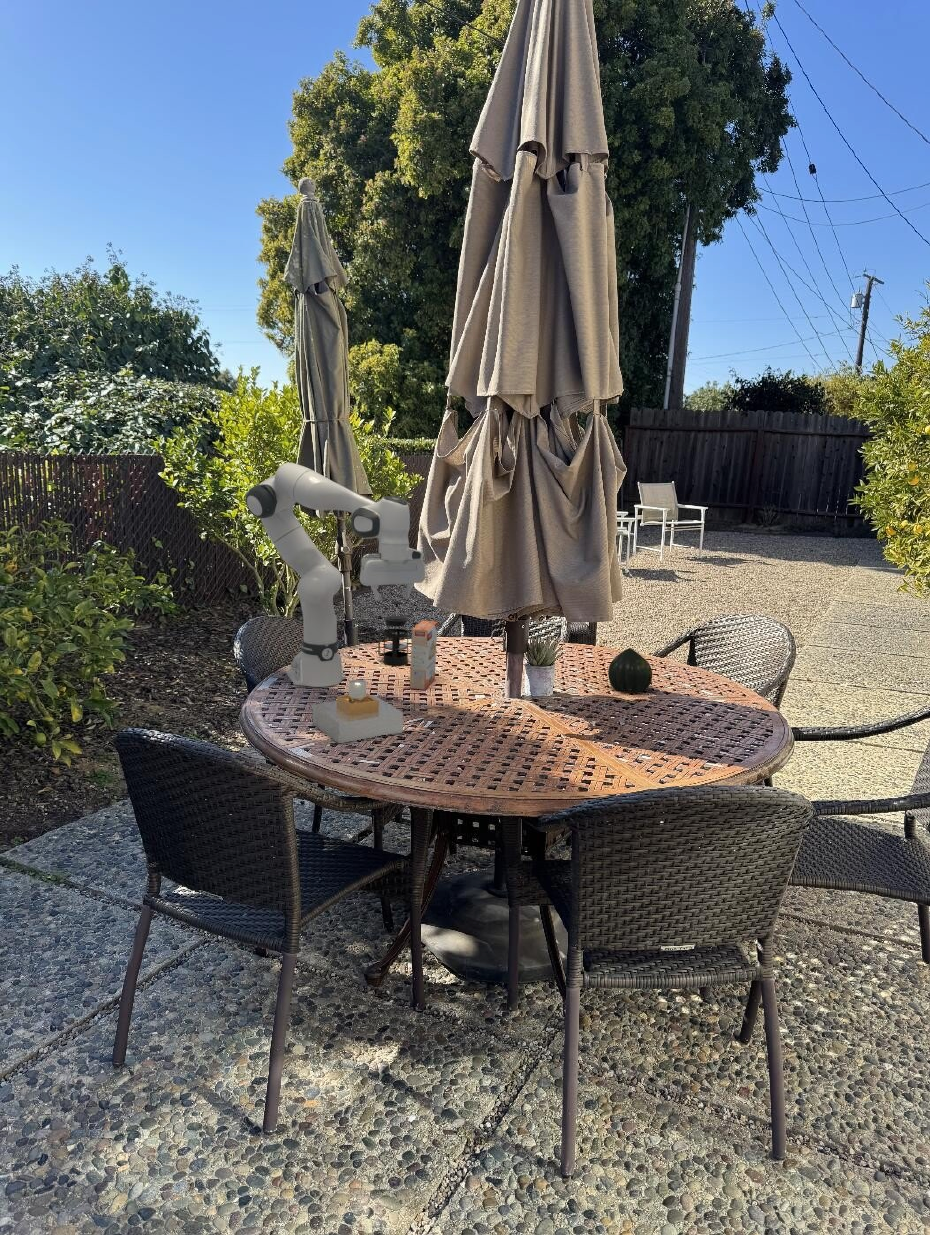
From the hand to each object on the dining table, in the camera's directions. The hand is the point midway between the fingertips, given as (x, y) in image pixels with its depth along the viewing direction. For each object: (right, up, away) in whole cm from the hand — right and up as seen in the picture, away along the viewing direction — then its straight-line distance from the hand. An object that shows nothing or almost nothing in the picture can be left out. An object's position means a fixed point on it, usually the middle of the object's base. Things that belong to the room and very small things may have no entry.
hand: (392, 598), depth 257 cm
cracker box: (+7, -29, +38) cm, 48 cm away
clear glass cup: (-9, -32, -8) cm, 34 cm away
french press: (-5, -23, +63) cm, 67 cm away
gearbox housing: (-10, -38, -6) cm, 39 cm away
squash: (+78, -31, +42) cm, 94 cm away
